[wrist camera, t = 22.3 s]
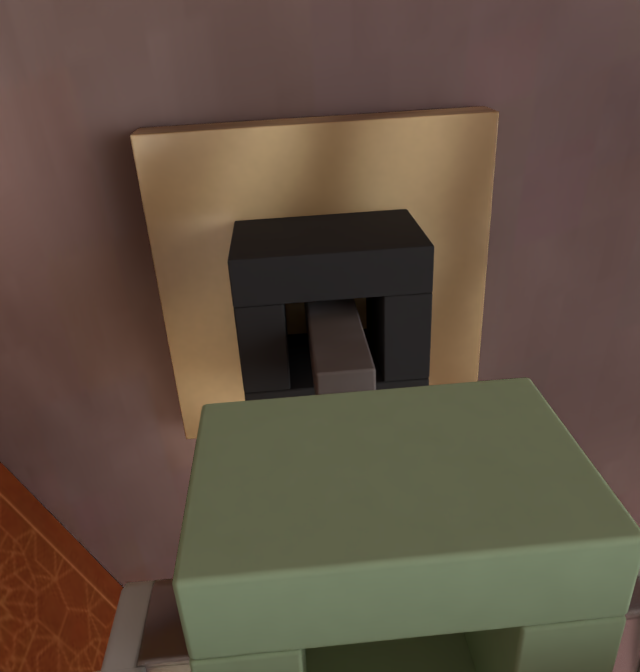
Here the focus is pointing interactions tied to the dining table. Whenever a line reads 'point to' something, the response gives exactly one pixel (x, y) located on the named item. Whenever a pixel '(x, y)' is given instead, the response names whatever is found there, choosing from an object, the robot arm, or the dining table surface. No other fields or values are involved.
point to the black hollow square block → (331, 294)
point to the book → (49, 590)
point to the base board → (306, 200)
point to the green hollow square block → (401, 536)
